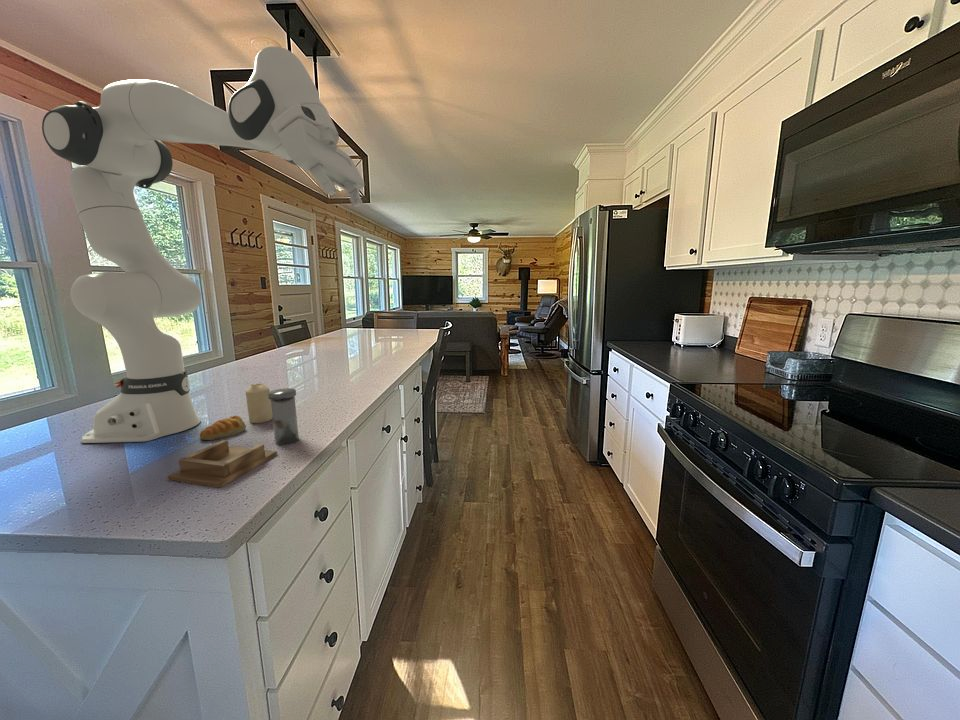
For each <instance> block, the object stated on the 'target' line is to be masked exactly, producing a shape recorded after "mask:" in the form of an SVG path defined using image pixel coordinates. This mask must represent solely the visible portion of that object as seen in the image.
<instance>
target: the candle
mask: <svg viewBox="0 0 960 720" xmlns="http://www.w3.org/2000/svg"><path fill="white" fill-rule="evenodd" d="M270 391H271V390H270V387H268V386H267V385H265V384H264V383H256V384H253V383H252V384H250V386H249V387H248V388H247V389H246V390H245V399H246V405H247V407H246V408H247V415H248V422H249V423H251V424H262V423H263V424H264V423H267V422H269V421H272V420H273V418H272V409H271V401H270V399H269V398H268V392H270Z"/></svg>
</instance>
